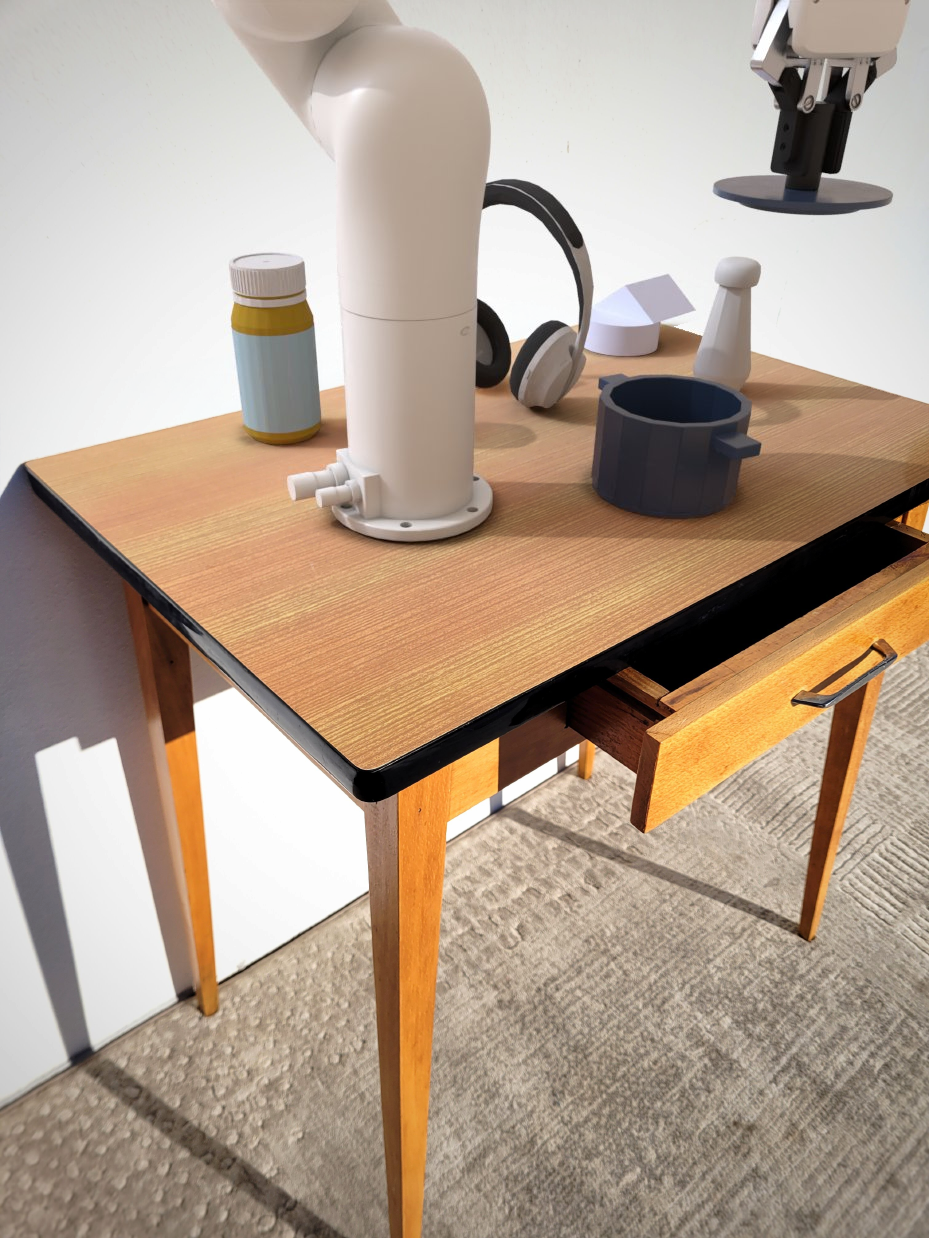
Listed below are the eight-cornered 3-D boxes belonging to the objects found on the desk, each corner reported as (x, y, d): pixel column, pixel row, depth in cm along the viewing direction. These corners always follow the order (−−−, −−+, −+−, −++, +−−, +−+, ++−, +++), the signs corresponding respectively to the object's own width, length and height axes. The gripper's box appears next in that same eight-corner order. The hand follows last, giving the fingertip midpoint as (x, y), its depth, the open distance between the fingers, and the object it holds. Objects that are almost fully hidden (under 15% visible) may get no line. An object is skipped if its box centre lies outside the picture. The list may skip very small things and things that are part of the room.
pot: (672, 546, 67) (688, 450, 63) (547, 461, 80) (553, 377, 76) (789, 514, 72) (810, 423, 68) (654, 438, 85) (665, 357, 80)
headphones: (606, 411, 90) (629, 188, 79) (549, 434, 85) (565, 199, 74) (467, 365, 101) (470, 164, 90) (410, 382, 96) (406, 172, 85)
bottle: (302, 412, 89) (287, 248, 80) (335, 436, 84) (323, 264, 75) (233, 426, 85) (211, 256, 77) (263, 452, 81) (242, 274, 72)
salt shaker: (742, 382, 98) (766, 253, 91) (751, 401, 93) (777, 267, 86) (686, 379, 98) (706, 251, 91) (692, 398, 94) (713, 264, 86)
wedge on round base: (631, 322, 116) (564, 343, 108) (637, 267, 112) (569, 284, 105) (691, 338, 111) (626, 361, 103) (700, 280, 107) (633, 300, 99)
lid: (798, 226, 61) (820, 113, 57) (676, 197, 70) (688, 98, 67) (927, 211, 66) (955, 106, 62) (798, 186, 75) (816, 93, 72)
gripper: (907, -139, 63) (843, 160, 73) (725, -158, 56) (683, 173, 66) (1007, -153, 57) (923, 173, 67) (818, -176, 51) (757, 188, 61)
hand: (804, 170), depth 67 cm, fingers closed on lid, 2 cm apart
